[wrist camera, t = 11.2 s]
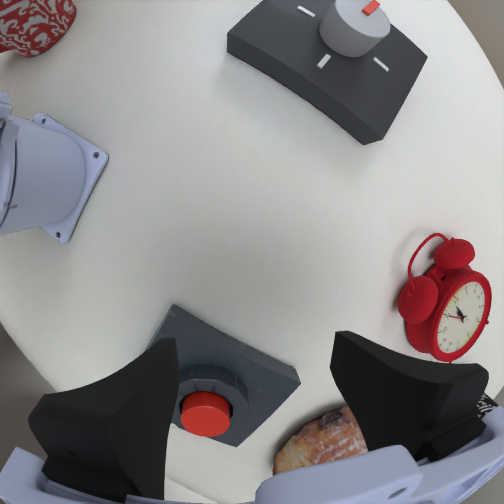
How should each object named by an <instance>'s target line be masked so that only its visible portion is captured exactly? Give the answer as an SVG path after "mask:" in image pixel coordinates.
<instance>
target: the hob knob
mask: <svg viewBox="0 0 504 504" xmlns="http://www.w3.org/2000/svg"><path fill="white" fill-rule="evenodd" d="M379 5H380V4H379V3H378V2H377V1H375V0H372V1H370V0H335V2H334V3H333V5H332V7H331V8H330V10H329V11H328V13H327V14H326V16H325V17H324V19H323V20H322V22H321V24H320V27H319V32H320V35H321V37H322V39H323V41H324V42H325V43H326V44H327V45H328V46H329V47H330V48H331V49H332V50H334V51H335V52H337V53H339V54H341V55H344V56H347V57H361V56H363V55H365V54H366V53H367V52H368V51H369V50H370V49H371V48H373V47H374V46H375V45H376V44H377V43H378V42H380V41H381V40H382V39H383V38H384V37H385V36H387V35H388V34H389V32H390V22H389V19H388V17H387V16H386V14H385V13H384V12H383V10H382V9H381V8H380V7H379Z"/></svg>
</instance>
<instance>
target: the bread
mask: <svg viewBox="0 0 504 504" xmlns="http://www.w3.org/2000/svg"><path fill="white" fill-rule="evenodd" d="M367 452H368V449H367V446H366V443H365V441H364V438H363V435H362V433H361V430H360V428H359V425H358V423H357V421H356V419H355V417H354V415H353V413H352V412H351V410H350V408H349V406H345V407H343V408H340V409H335V410H332V411H330V412H326V415H323V417H322V418H320V419H316V420H314V421H312V422H310V423H308V424H306V425H305V426H304V427H303V428H302V429H301V430H300V432H298V433H297V434H296V435H293V436H292V437H291V439H290V440H289V441H288V442H287V444H286V445H285V446H284V447H283V448H282V449H281V450H280V451H279V452H278V453H277V454H276V458H275V461H274V466H273V476H275V475H277V474H279V473H281V472H285V471H289V470H293V469H297V468H300V467H306V466H312V465H318V464H323V463H328V462H332V461H337V460H341V459H345V458H349V457H353V456H356V455H360V454H364V453H367Z"/></svg>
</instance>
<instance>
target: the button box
mask: <svg viewBox="0 0 504 504" xmlns="http://www.w3.org/2000/svg"><path fill="white" fill-rule="evenodd" d="M161 338H175V339H176V348H177V355H178V362H179V369H180V383H179V392H178V396H177V400H176V404H175V408H174V412H173V416H172V420H171V423H173V424H175V425H176V426H177V427H179V428H181V429H183V430H186V429H185V428H184V426H183V425H182V423H181V414H182V407H183V402H184V400H185V399H186V398H187V397H188V396H189V395H191V394H193V393H196V392H202V391H206V392H212V393H216V394H218V395H220V396H222V397H223V398H224V399H225V400H226V401H227V402H228V404H229V411H230V426H229V428H228V429H227V430H226V431H225V432H224V433H222V434H220V435H217V436H212V437H208V438H211V439H213V440H216V441H219V442H222V443H225V444H228V445H231V446H234V447H237V446H239V445H240V444H241V443H242V442H243V441H244V440H245V439H246V438H247V437H249V436H250V435H251V434H252V433H253V432H254V431H255V430H256V429H257V428H258V427H259V426H260V425H261V424H262V423H263V422H264V421H265V420H267V419H268V418H269V417H270V416H271V415H272V414H273V413H274V412H275V411H276V410H277V409H278V408H279V407H280V405H281V404H282V403H283V402H284V401H285V400H286V399H287V398H288V397H289V396H290V395H291V394H292V393H293V392H294V391H295V390H296V389H297V388H298V386H299V385H300V384H301V382H300V379H299V377H298V374H297V372H296V369H294V368H292V367H290V366H288V365H286V364H283V363H281V362H279V361H277V360H275V359H273V358H271V357H269V356H267V355H265V354H263V353H261V352H259V351H257V350H255V349H253V348H251V347H249V346H247V345H245V344H243V343H241V342H239V341H238V340H236V339H234V338H232V337H230V336H228V335H226V334H224V333H223V332H221V331H219V330H217V329H215V328H214V327H212V326H210V325H208V324H206V323H205V322H203V321H201V320H199V319H198V318H196V317H194V316H193V315H191V314H189V313H187V312H186V311H184V310H182V309H181V308H179V307H177V306H176V305H174V304H173V305H172V306H171V308H170V310H169V311H168V313H167V315H166V316H165V318H164V320H163V321H162V323H161V325H160V326H159V328H158V330H157V331H156V333H155V335H154V337H153V338H152V340H151V342H150V343H149V345H148V347H147V349H146V350H148V349H149V348H150V347H151V346H152V345H153V344H155V343H156V342H157V341H158V340H159V339H161ZM146 350H145V351H146ZM186 431H188V430H186ZM188 432H189V431H188Z"/></svg>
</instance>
